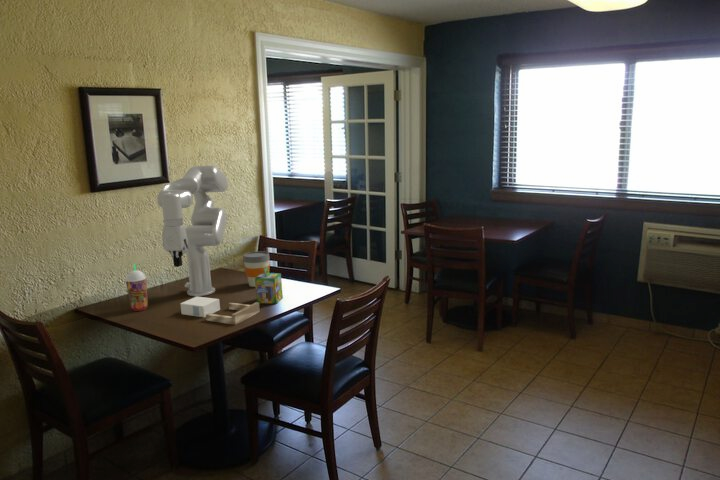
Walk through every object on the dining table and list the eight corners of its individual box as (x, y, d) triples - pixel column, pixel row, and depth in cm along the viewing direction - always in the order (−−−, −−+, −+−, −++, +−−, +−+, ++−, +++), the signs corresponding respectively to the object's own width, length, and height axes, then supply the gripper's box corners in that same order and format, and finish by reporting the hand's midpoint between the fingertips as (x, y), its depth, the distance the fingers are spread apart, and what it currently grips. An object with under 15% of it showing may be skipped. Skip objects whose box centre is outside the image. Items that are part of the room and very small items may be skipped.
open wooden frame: (206, 320, 229) (205, 311, 228) (231, 308, 243) (230, 299, 242) (236, 324, 223) (235, 315, 222) (259, 311, 237) (258, 302, 236)
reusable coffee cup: (250, 289, 269) (247, 258, 266) (241, 283, 279) (239, 253, 276) (275, 285, 275) (273, 254, 272) (266, 279, 286) (263, 249, 282)
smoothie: (130, 313, 241) (124, 267, 237) (128, 308, 248) (122, 263, 244) (151, 309, 245) (145, 264, 241) (148, 304, 252) (143, 260, 248)
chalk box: (276, 304, 246) (274, 271, 243) (256, 303, 248) (253, 270, 245) (283, 297, 255) (281, 265, 252) (264, 297, 256) (261, 265, 253)
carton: (181, 314, 238) (180, 303, 237) (198, 307, 247) (196, 296, 246) (204, 318, 233) (203, 306, 232) (220, 310, 242) (219, 299, 241)
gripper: (153, 223, 236) (158, 266, 240) (181, 225, 230) (186, 269, 234) (166, 220, 243) (170, 262, 247) (194, 222, 236) (198, 265, 240)
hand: (178, 265), depth 240 cm, fingers closed
